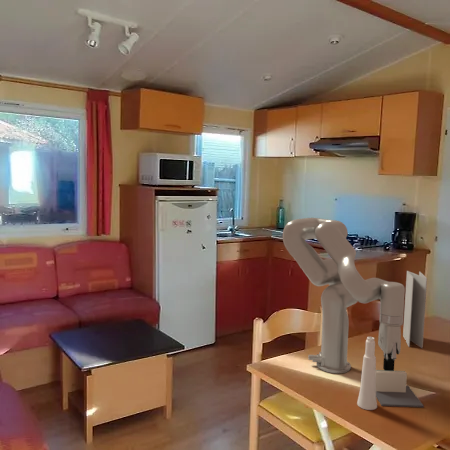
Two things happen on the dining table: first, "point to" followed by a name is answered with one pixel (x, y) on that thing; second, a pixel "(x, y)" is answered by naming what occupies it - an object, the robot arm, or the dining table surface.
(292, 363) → the dining table surface
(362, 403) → the cosmetic bottle
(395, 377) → the tile
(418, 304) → the brochure
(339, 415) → the dining table surface
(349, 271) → the robot arm
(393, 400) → the mat
